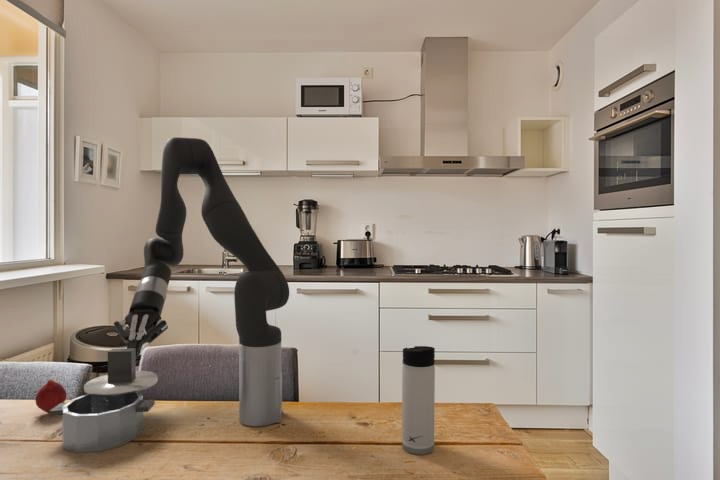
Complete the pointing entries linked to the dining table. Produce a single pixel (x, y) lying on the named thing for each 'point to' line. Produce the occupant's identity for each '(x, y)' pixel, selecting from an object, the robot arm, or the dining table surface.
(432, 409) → the travel mug
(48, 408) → the onion
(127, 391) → the lid
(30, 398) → the dining table surface
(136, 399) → the pot
